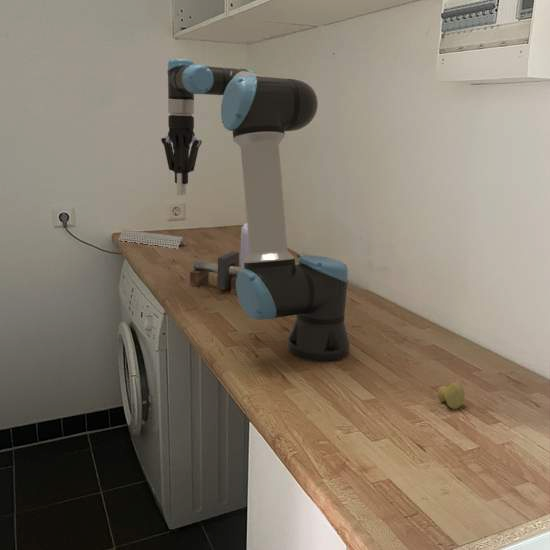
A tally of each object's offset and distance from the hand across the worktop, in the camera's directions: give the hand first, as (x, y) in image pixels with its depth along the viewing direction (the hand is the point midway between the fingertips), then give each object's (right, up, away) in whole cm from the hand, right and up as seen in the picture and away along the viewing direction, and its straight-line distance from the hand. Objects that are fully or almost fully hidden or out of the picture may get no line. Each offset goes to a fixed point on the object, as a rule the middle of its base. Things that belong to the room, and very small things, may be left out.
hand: (181, 194), depth 177 cm
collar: (+14, -28, +9) cm, 32 cm away
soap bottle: (+21, -23, +35) cm, 47 cm away
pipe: (+11, -24, +10) cm, 28 cm away
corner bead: (-24, -12, +69) cm, 74 cm away
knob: (+64, -52, -59) cm, 101 cm away
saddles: (+11, -29, +11) cm, 33 cm away
